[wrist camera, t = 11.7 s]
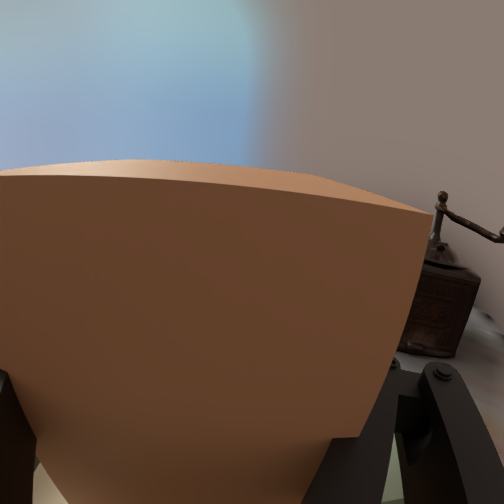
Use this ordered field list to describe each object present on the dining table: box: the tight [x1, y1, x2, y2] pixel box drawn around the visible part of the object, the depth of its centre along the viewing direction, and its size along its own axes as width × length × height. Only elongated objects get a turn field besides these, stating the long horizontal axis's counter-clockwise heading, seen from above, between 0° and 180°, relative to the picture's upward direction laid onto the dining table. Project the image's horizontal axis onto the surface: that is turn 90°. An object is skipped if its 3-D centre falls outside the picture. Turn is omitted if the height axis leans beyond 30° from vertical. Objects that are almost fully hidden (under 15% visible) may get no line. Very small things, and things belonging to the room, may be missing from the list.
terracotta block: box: [0, 159, 433, 504], centre depth 10 cm, size 8×10×12 cm
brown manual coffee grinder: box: [397, 191, 504, 357], centre depth 29 cm, size 16×11×18 cm
